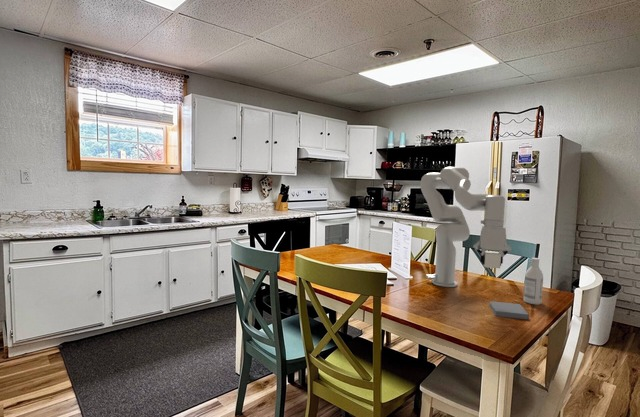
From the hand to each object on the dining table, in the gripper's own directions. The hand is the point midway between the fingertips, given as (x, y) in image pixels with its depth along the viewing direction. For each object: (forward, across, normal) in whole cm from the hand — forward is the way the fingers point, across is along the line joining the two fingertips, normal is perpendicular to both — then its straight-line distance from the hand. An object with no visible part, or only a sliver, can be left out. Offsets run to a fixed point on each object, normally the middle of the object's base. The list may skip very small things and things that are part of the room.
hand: (491, 264), depth 156 cm
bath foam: (+18, +20, +8) cm, 27 cm away
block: (+1, 0, 0) cm, 1 cm away
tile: (+18, +6, -9) cm, 21 cm away
